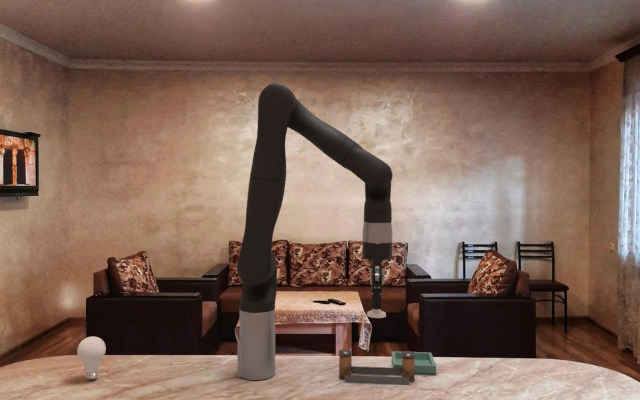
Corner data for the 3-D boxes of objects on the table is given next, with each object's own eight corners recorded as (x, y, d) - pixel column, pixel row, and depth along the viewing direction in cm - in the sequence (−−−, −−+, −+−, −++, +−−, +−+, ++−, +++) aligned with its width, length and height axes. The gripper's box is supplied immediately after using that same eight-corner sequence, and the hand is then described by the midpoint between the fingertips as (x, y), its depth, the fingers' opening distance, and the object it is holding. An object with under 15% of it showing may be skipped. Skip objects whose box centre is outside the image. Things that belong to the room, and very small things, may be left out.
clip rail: (337, 382, 131) (338, 355, 131) (339, 372, 138) (339, 347, 137) (416, 385, 129) (416, 357, 129) (413, 375, 136) (413, 349, 136)
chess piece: (385, 318, 130) (386, 278, 130) (365, 317, 131) (366, 277, 131) (386, 313, 135) (387, 275, 135) (367, 312, 136) (368, 274, 136)
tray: (393, 373, 137) (393, 364, 137) (391, 359, 148) (391, 351, 148) (436, 375, 136) (436, 366, 136) (431, 361, 147) (431, 352, 147)
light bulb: (111, 377, 134) (111, 335, 134) (90, 386, 128) (90, 342, 128) (93, 373, 137) (92, 332, 136) (71, 382, 131) (71, 338, 130)
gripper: (362, 237, 140) (362, 301, 140) (362, 242, 126) (361, 313, 126) (391, 237, 139) (390, 302, 139) (393, 243, 125) (392, 314, 126)
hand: (376, 307), depth 133 cm, fingers closed on chess piece
